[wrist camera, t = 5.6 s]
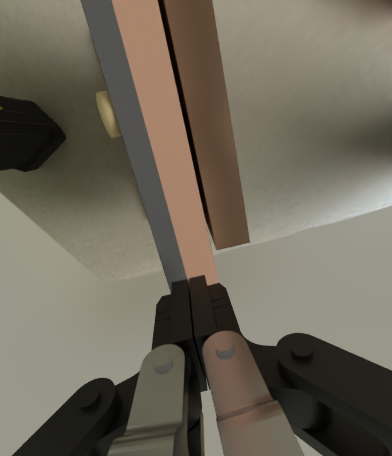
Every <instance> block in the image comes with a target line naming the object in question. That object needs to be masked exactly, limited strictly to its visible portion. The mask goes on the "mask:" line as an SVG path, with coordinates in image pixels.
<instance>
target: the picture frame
mask: <svg viewBox="0 0 392 456" xmlns="http://www.w3.org/2000/svg"><path fill="white" fill-rule="evenodd" d="M81 4H82V7H83V10H84V13H85V17H86V20H87V23H88V26H89V29H90V33H91V36H92V39H93V42H94V46H95V49H96V52H97V55H98V59H99V62H100V65H101V68H102V72H103V75H104V78H105V81H106V85H107V88H108V90H105V91H101V92H97V93H96V100H97V106H98V109H99V113H100V116H101V119H102V121H103V124H104V126H105V128H106V130H107V132H108V134H109V135H110V137H111V138H116V137H121V136H123V140H124V143H125V146H126V149H127V153H128V156H129V159H130V162H131V166H132V169H133V172H134V175H135V179H136V182H137V185H138V188H139V192H140V195H141V198H142V201H143V204H144V208H145V211H146V214H147V217H148V221H149V224H150V227H151V230H152V234H153V237H154V240H155V243H156V247H157V250H158V253H159V256H160V260H161V263H162V266H163V269H164V273H165V276H166V279H167V282H168V285H169V289H170V292H171V284H172V282H175V281H179V280H184V279H188V280H189V278H192V277H196V276H200V275H205V278H206V282H207V286H208V285H212V284H216V283H219V282H218V277H217V273H216V268H215V263H214V259H213V254H212V250H211V245H210V240H209V236H208V231H207V226H206V222H205V217H204V213H203V208H202V203H201V199H200V194H199V190H198V185H197V180H196V176H195V171H194V167H193V162H192V157H191V153H190V148H189V144H188V139H187V134H186V130H185V125H184V120H183V116H182V111H181V107H180V102H179V97H178V93H177V88H176V84H175V79H174V74H173V70H172V65H171V61H170V56H169V51H168V47H167V42H166V37H165V33H164V28H163V24H162V19H161V14H160V10H159V5H158V1H157V0H81Z"/></svg>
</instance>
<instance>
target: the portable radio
mask: <svg viewBox="0 0 392 456" xmlns="http://www.w3.org/2000/svg"><path fill="white" fill-rule="evenodd" d="M65 139H66V137H65V135H64V133H63V131H62V130H61V129H60V127H59V126H58V125H57V124H56V123H55V122H54V121H53V120H52V119H51V118H50V117H49V116H48V115H47V114H46V113H45V112H43V111H42V110H41V109H40V108H39V107H38V106H37V105H36V104H35V103H34V102H31V101H27V100H19V99H14V98H8V97H3V96H0V171H1V170H7V169H17V170H20V171H24V172H27V171H32V170H36V169H38V168H39V167H40V166H41V165H42V164H43V163H44V162H45V161H46V160H47V159H48V158H49V156H50V155H51V154H52V153H53V152H54V151H55V150H56V149H57V148H58V147H59V146H60V145H61V144H62V143H63V142H64V140H65Z"/></svg>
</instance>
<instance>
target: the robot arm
mask: <svg viewBox="0 0 392 456" xmlns="http://www.w3.org/2000/svg"><path fill="white" fill-rule="evenodd" d="M206 379H207V382H206ZM207 383H208V386H209V389H211V394H212V398H213V403H214V407H215V412H216V416H217V418H216V420H217V425H218V430H219V434H220V439H221V444H222V449H223V453H224V456H304V454H303V451H302V449H301V447H300V445H299V443H298V441H297V439H296V437H295V435H297V436H298V437H299V438H300V439H302V440H303V441H304V442H306V443H307V444H308V445H310V446H311V447H312V448H314V449H315V450H316V451H317V452H319V453H320V454H321V455H323V456H392V371H391V370H389V369H387V368H384V367H382V366H380V365H377V364H375V363H373V362H370V361H368V360H366V359H364V358H362V357H359V356H357V355H355V354H352V353H350V352H348V351H346V350H343V349H341V348H339V347H336V346H334V345H332V344H330V343H327V342H325V341H323V340H321V339H318V338H316V337H314V336H311V335H308V334H303V333H293V334H289V335H286V336H284V337H283V338H281V339H280V340H279V342H278V343H277V346H263V345H258V344H255V343H252V342H250V341H249V340H247V339H246V338H245V337H244V336H243V335H242V333H241V331H240V328H239V325H238V322H237V319H236V316H235V314H234V311H233V308H232V305H231V302H230V299H229V296H228V293H227V290H226V288H225V287H224V286H222V285H221V284H220V283H216V284H212V285H208V286H207V282H206V278H205V275H200V276H196V277H192V278H189V280H188V279H184V280H179V281H175V282H172V284H171V294H170V295H166V296H162V297H161V299H160V300H159V302H158V304H157V305H156V316H155V324H154V333H153V342H152V351H151V352H150V353H149V354H148V355H147V356H146V357H145V358H144V360H143V362H142V365H141V368H140V371H139V372H138V373H137V374H135V375H134V376H132V377H131V378H129V379H127V380H125V381H123V382H121V383H119V384H117V385H116V386H115V385H114V383H113V382H112V381H111V380H110V379H107V378H98V379H94V380H92V381H90V382H88V383H87V384H85V385H83V386H82V387H81V388H80V389H78V390H77V391H76V392H75V393H74V394H73V395H72V396H71V397H70V398H69V399H68V400H67V401H66V402H65V403H64V404H63V405H62V406H61V407H60V408H59V409H58V410H57V411H56V412H55V413H54V414H53V415H52V416H51V417H50V418H49V419H48V420H47V421H46V422H45V423H44V424H43V425H42V426H41V427H40V428H39V429H38V430H37V431H36V432H35V433H34V434H33V435H32V436H31V437H30V438H29V439H28V440H27V441H26V442H25V443H24V444H23V445H22V446H21V447H20V448H19V449H18V450H17V451H16V452H15V453H14V454H13V455H12V456H204V455H205V453H204V424H203V423H204V422H203V413H202V402H201V393H200V392H203V391H207ZM294 434H295V435H294Z"/></svg>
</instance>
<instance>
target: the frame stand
mask: <svg viewBox="0 0 392 456" xmlns="http://www.w3.org/2000/svg"><path fill="white" fill-rule="evenodd" d="M157 1H158V5H159V10H160V14H161V19H162V24H163V28H164V33H165V37H166V42H167V47H168V51H169V56H170V61H171V65H172V70H173V74H174V79H175V84H176V88H177V93H178V97H179V102H180V107H181V111H182V116H183V120H184V125H185V130H186V134H187V139H188V144H189V148H190V153H191V157H192V162H193V167H194V171H195V176H196V180H197V185H198V190H199V194H200V199H201V203H202V208H203V213H204V217H205V220H206V223H207V225H208V228H209V231H210V233H211V236H212V239H213V241H214V244H215V247H216V249H217V250H220V249H224V248H228V247H233V246H237V245H241V244H245V243H250V239H249V233H248V226H247V220H246V214H245V207H244V201H243V195H242V188H241V182H240V175H239V169H238V163H237V156H236V150H235V143H234V137H233V131H232V124H231V118H230V112H229V105H228V99H227V92H226V86H225V80H224V73H223V67H222V61H221V54H220V48H219V41H218V35H217V29H216V22H215V16H214V9H213V3H212V0H157Z"/></svg>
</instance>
